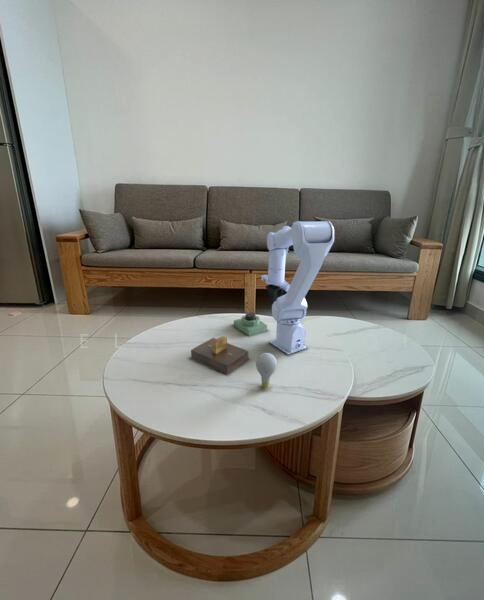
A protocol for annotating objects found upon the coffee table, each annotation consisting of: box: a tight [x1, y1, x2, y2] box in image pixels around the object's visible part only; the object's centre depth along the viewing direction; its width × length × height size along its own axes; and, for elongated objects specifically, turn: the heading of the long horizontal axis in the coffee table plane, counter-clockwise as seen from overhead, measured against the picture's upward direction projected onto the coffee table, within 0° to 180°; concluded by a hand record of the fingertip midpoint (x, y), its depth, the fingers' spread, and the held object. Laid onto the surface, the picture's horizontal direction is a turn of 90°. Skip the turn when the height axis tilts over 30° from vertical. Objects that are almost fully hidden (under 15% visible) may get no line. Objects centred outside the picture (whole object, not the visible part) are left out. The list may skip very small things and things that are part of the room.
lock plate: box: [190, 337, 249, 375], centre depth 97 cm, size 14×10×3 cm
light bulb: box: [255, 352, 278, 389], centre depth 83 cm, size 6×6×10 cm
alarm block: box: [233, 314, 268, 337], centre depth 117 cm, size 10×8×4 cm
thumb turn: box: [212, 335, 228, 354], centre depth 95 cm, size 5×2×4 cm, turn 145°
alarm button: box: [245, 312, 256, 321], centre depth 116 cm, size 4×4×2 cm
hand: (274, 304), depth 115 cm, fingers closed
